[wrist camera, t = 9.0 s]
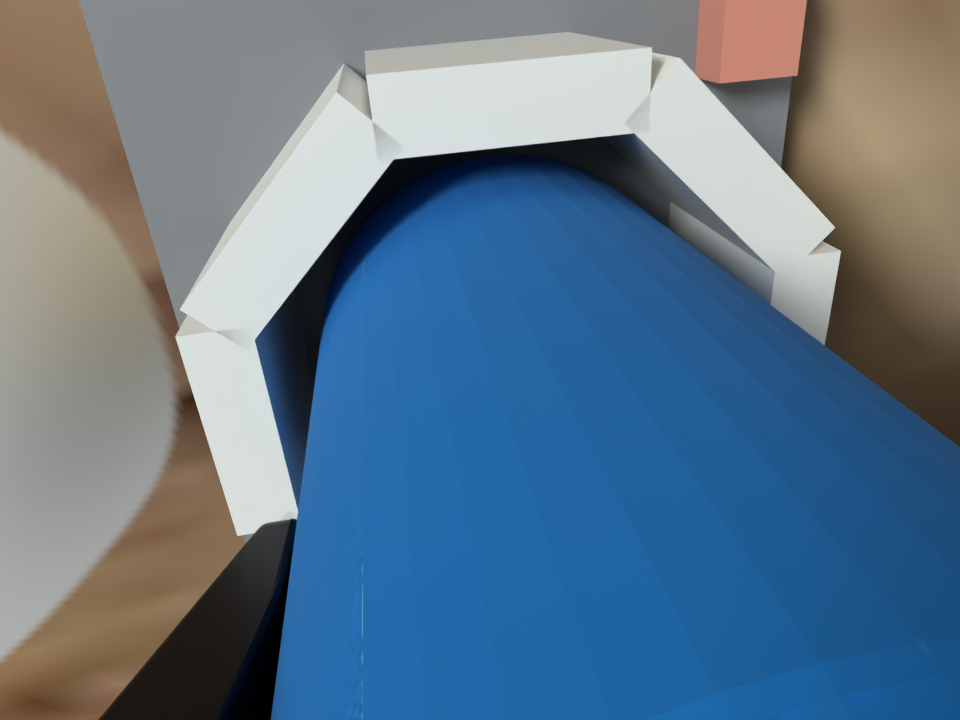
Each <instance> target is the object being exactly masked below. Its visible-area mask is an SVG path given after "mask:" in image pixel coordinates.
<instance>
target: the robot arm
mask: <svg viewBox="0 0 960 720" xmlns="http://www.w3.org/2000/svg"><path fill="white" fill-rule="evenodd" d="M296 523H297V520H296V519H288V520H281V521H275V522H268V523H265V524H263V525H262V526H260V527H259V528H258V530H257V531H256V532H255V533H254V534H253V536H252V537H251V538H250V539H249V540H248V542H247V543H246V544H245V545H244V546H243V548H242V549H241V550H240V551H239V552H238V553H237V555H236V556H235V557H234V558H233V559H232V561H231V562H230V563H229V564H228V565H227V567H226V568H225V569H224V570H223V571H222V573H221V574H220V575H219V576H218V577H217V579H216V580H215V581H214V582H213V583H212V585H211V586H210V587H209V588H208V589H207V591H206V592H205V593H204V594H203V595H202V597H201V598H200V599H199V600H198V601H197V602H196V604H195V605H194V606H193V607H192V608H191V610H190V611H189V612H188V613H187V614H186V616H185V617H184V618H183V619H182V620H181V622H180V623H179V624H178V625H177V626H176V628H175V629H174V630H173V631H172V632H171V634H170V635H169V636H168V637H167V638H166V640H165V641H164V642H163V643H162V644H161V645H160V647H159V648H158V649H157V650H156V651H155V653H154V654H153V655H152V656H151V657H150V659H149V660H148V661H147V662H146V663H145V665H144V666H143V667H142V668H141V669H140V671H139V672H138V673H137V674H136V675H135V677H134V678H133V679H132V680H131V681H130V683H129V684H128V685H127V686H126V687H125V689H124V690H123V691H122V692H121V693H120V694H119V696H118V697H117V698H116V699H115V700H114V702H113V703H112V704H111V705H110V706H109V708H108V709H107V710H106V711H105V712H104V714H103V715H102V716H101V717H100V718H99V720H271V715H272V707H273V699H274V692H275V684H276V676H277V669H278V661H279V653H280V646H281V638H282V630H283V623H284V615H285V607H286V600H287V592H288V584H289V577H290V569H291V562H292V554H293V546H294V539H295V531H296Z"/></svg>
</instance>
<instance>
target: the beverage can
mask: <svg viewBox="0 0 960 720" xmlns="http://www.w3.org/2000/svg"><path fill="white" fill-rule="evenodd" d="M271 720H960V447H959V446H958V445H956V444H955V443H954V442H952V441H951V440H950V439H948V438H947V437H946V436H944V435H943V434H942V433H940V432H939V431H938V430H936V429H935V428H934V427H932V426H931V425H930V424H928V423H927V422H926V421H924V420H923V419H922V418H920V417H919V416H918V415H916V414H915V413H914V412H912V411H911V410H910V409H908V408H907V407H906V406H904V405H903V404H902V403H900V402H899V401H898V400H896V399H895V398H894V397H892V396H891V395H890V394H888V393H887V392H886V391H884V390H883V389H882V388H880V387H879V386H878V385H876V384H875V383H874V382H872V381H871V380H870V379H868V378H867V377H866V376H864V375H863V374H862V373H860V372H859V371H858V370H856V369H855V368H854V367H852V366H851V365H850V364H848V363H847V362H846V361H844V360H843V359H842V358H840V357H839V356H838V355H837V354H835V353H834V352H833V351H831V350H830V349H829V348H827V347H826V346H825V345H823V344H822V343H821V342H819V341H818V340H817V339H815V338H814V337H813V336H811V335H810V334H809V333H807V332H806V331H805V330H803V329H802V328H801V327H799V326H798V325H797V324H795V323H794V322H793V321H791V320H790V319H789V318H787V317H786V316H785V315H783V314H782V313H781V312H779V311H778V310H777V309H775V308H774V307H773V306H771V305H770V304H769V303H767V302H766V301H765V300H763V299H762V298H761V297H759V296H758V295H757V294H755V293H754V292H753V291H751V290H750V289H749V288H747V287H746V286H745V285H743V284H742V283H741V282H739V281H738V280H737V279H735V278H734V277H733V276H731V275H730V274H729V273H727V272H726V271H725V270H723V269H722V268H721V267H719V266H718V265H717V264H715V263H714V262H713V261H711V260H710V259H709V258H707V257H706V256H705V255H703V254H702V253H701V252H699V251H698V250H697V249H695V248H694V247H693V246H691V245H690V244H689V243H687V242H686V241H685V240H683V239H682V238H681V237H679V236H678V235H677V234H675V233H674V232H673V231H671V230H670V229H669V228H667V227H666V226H665V225H663V224H662V223H661V222H659V221H658V220H657V219H655V218H654V217H653V216H651V215H650V214H649V213H647V212H646V211H645V210H643V209H642V208H641V207H639V206H638V205H637V204H635V203H634V202H633V201H631V200H630V199H629V198H627V197H626V196H625V195H623V194H622V193H621V192H619V191H618V190H617V189H615V188H614V187H612V186H611V185H609V184H608V183H606V182H604V181H603V180H601V179H600V178H598V177H597V176H595V175H593V174H591V173H589V172H586V171H584V170H582V169H580V168H577V167H575V166H573V165H569V164H566V163H562V162H559V161H556V160H552V159H547V158H540V157H533V156H526V155H498V156H490V157H483V158H475V159H471V160H467V161H464V162H460V163H456V164H453V165H449V166H446V167H444V168H442V169H439V170H437V171H435V172H432V173H430V174H427V175H425V176H423V177H421V178H420V179H418V180H416V181H415V182H413V183H411V184H410V185H408V186H406V187H404V188H403V189H401V190H400V191H399V192H397V193H396V194H395V195H394V196H392V197H391V198H390V199H388V200H387V201H386V202H385V203H383V204H382V205H381V206H380V207H379V208H378V209H377V210H376V211H375V212H374V213H373V214H372V215H371V216H370V217H369V218H368V219H367V220H366V221H365V222H364V224H363V225H362V226H361V228H360V229H359V230H358V232H357V233H356V234H355V236H354V237H353V238H352V240H351V241H350V243H349V244H348V246H347V248H346V250H345V252H344V253H343V255H342V257H341V259H340V261H339V263H338V265H337V267H336V270H335V273H334V275H333V278H332V281H331V283H330V286H329V290H328V295H327V300H326V304H325V309H324V317H323V324H322V332H321V340H320V347H319V355H318V363H317V370H316V378H315V386H314V393H313V401H312V408H311V416H310V424H309V431H308V439H307V447H306V454H305V462H304V470H303V477H302V485H301V493H300V500H299V508H298V516H297V523H296V531H295V539H294V546H293V554H292V562H291V569H290V577H289V584H288V592H287V600H286V607H285V615H284V623H283V630H282V638H281V646H280V653H279V661H278V669H277V676H276V684H275V692H274V699H273V707H272V715H271Z"/></svg>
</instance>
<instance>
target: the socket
mask: <svg viewBox="0 0 960 720" xmlns="http://www.w3.org/2000/svg"><path fill="white" fill-rule="evenodd" d="M79 2H80V6H81V9H82V12H83V15H84V19H85V22H86V25H87V29H88V32H89V35H90V38H91V42H92V45H93V48H94V51H95V55H96V58H97V61H98V64H99V68H100V71H101V74H102V77H103V81H104V84H105V87H106V90H107V94H108V97H109V100H110V103H111V107H112V110H113V113H114V116H115V120H116V123H117V126H118V130H119V133H120V136H121V139H122V143H123V146H124V149H125V152H126V156H127V159H128V162H129V165H130V169H131V172H132V175H133V178H134V182H135V185H136V188H137V191H138V195H139V198H140V201H141V204H142V208H143V211H144V214H145V217H146V221H147V224H148V227H149V231H150V234H151V237H152V240H153V244H154V247H155V250H156V253H157V257H158V260H159V263H160V266H161V270H162V273H163V276H164V279H165V283H166V286H167V289H168V292H169V296H170V299H171V302H172V305H173V309H174V312H175V315H176V319H177V322H178V325H179V328H180V329H179V331H178V333H177V335H176V336H175V337H176V340H177V344H178V347H179V350H180V353H181V356H182V360H183V363H184V366H185V369H186V372H187V376H188V379H189V382H190V385H191V388H192V392H193V395H194V398H195V401H196V404H197V408H198V411H199V414H200V417H201V420H202V424H203V427H204V430H205V433H206V436H207V440H208V443H209V446H210V449H211V453H212V456H213V459H214V462H215V465H216V469H217V472H218V475H219V478H220V481H221V485H222V488H223V491H224V494H225V497H226V501H227V504H228V507H229V510H230V513H231V517H232V520H233V523H234V526H235V529H236V533H237V536H240V535H243V537H244V540H245V543H247V542H248V540H249V539H250V538H251V537H252V536H253V534H254V533H255V532H256V531H257V530H258V528H259V527H260V526H262V525H263V524H265V523H268V522H275V521H281V520H288V519H296V520H297V516H298V508H299V500H300V493H301V485H302V477H303V470H304V462H305V454H306V447H307V439H308V431H309V424H310V416H311V408H312V401H313V393H314V386H315V378H316V370H317V363H318V355H319V347H320V340H321V332H322V324H323V317H324V309H325V304H326V300H327V295H328V290H329V286H330V283H331V281H332V278H333V275H334V273H335V270H336V267H337V265H338V263H339V261H340V259H341V257H342V255H343V253H344V252H345V250H346V248H347V246H348V244H349V243H350V241H351V240H352V238H353V237H354V236H355V234H356V233H357V232H358V230H359V229H360V228H361V226H362V225H363V224H364V222H365V221H366V220H367V219H368V218H369V217H370V216H371V215H372V214H373V213H374V212H375V211H376V210H377V209H378V208H379V207H380V206H381V205H382V204H383V203H385V202H386V201H387V200H388V199H390V198H391V197H392V196H394V195H395V194H396V193H397V192H399V191H400V190H401V189H403V188H404V187H406V186H408V185H410V184H411V183H413V182H415V181H416V180H418V179H420V178H421V177H423V176H425V175H427V174H430V173H432V172H435V171H437V170H439V169H442V168H444V167H446V166H449V165H453V164H456V163H460V162H464V161H467V160H471V159H475V158H483V157H490V156H498V155H526V156H533V157H540V158H547V159H552V160H556V161H559V162H562V163H566V164H569V165H573V166H575V167H577V168H580V169H582V170H584V171H586V172H589V173H591V174H593V175H595V176H597V177H598V178H600V179H601V180H603V181H604V182H606V183H608V184H609V185H611V186H612V187H614V188H615V189H617V190H618V191H619V192H621V193H622V194H623V195H625V196H626V197H627V198H629V199H630V200H631V201H633V202H634V203H635V204H637V205H638V206H639V207H641V208H642V209H643V210H645V211H646V212H647V213H649V214H650V215H651V216H653V217H654V218H655V219H657V220H658V221H659V222H661V223H662V224H663V225H665V226H666V227H667V228H669V229H670V230H671V231H673V232H674V233H675V234H677V235H678V236H679V237H681V238H682V239H683V240H685V241H686V242H687V243H689V244H690V245H691V246H693V247H694V248H695V249H697V250H698V251H699V252H701V253H702V254H703V255H705V256H706V257H707V258H709V259H710V260H711V261H713V262H714V263H715V264H717V265H718V266H719V267H721V268H722V269H723V270H725V271H726V272H727V273H729V274H730V275H731V276H733V277H734V278H735V279H737V280H738V281H739V282H741V283H742V284H743V285H745V286H746V287H747V288H749V289H750V290H751V291H753V292H754V293H755V294H757V295H758V296H759V297H761V298H762V299H763V300H765V301H766V302H767V303H769V304H770V305H771V306H773V307H774V308H775V309H777V310H778V311H779V312H781V313H782V314H783V315H785V316H786V317H787V318H789V319H790V320H791V321H793V322H794V323H795V324H797V325H798V326H799V327H801V328H802V329H803V330H805V331H806V332H807V333H809V334H810V335H811V336H813V337H814V338H815V339H817V340H818V341H819V342H821V343H822V344H823V345H825V340H826V335H827V329H828V323H829V317H830V312H831V306H832V300H833V294H834V289H835V283H836V277H837V271H838V266H839V260H840V254H841V251H840V250H838V249H836V248H835V247H833V246H831V245H829V244H827V243H825V242H823V241H822V240H823V239H824V238H825V237H826V236H827V235H828V234H829V233H830V232H831V231H832V230H833V229H835V227H834V226H833V225H832V224H831V222H830V221H829V220H828V219H827V218H826V217H825V216H824V215H823V214H822V213H821V211H820V210H819V209H818V208H817V207H816V206H815V205H814V204H813V203H812V202H811V201H810V199H809V198H808V197H807V196H806V195H805V194H804V193H803V192H802V191H801V190H800V189H799V187H798V186H797V185H796V184H795V183H794V182H793V181H792V180H791V179H790V178H789V176H788V175H787V174H786V173H785V172H784V171H783V170H782V169H781V164H782V156H783V148H784V140H785V132H786V124H787V116H788V108H789V100H790V92H791V84H792V76H797V75H798V67H799V59H800V51H801V43H802V36H803V28H804V20H805V12H806V4H807V0H79Z"/></svg>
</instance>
